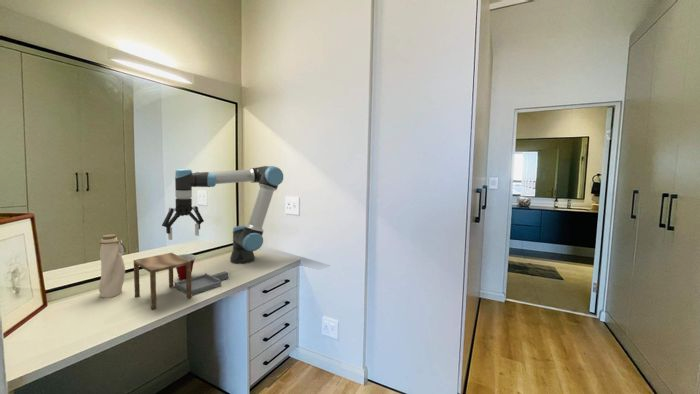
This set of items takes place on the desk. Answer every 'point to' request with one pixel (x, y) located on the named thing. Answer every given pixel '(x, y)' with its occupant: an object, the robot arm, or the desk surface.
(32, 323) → the desk surface
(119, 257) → the water bottle
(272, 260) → the desk surface
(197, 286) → the tray
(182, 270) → the plastic cup
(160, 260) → the small wooden stool
